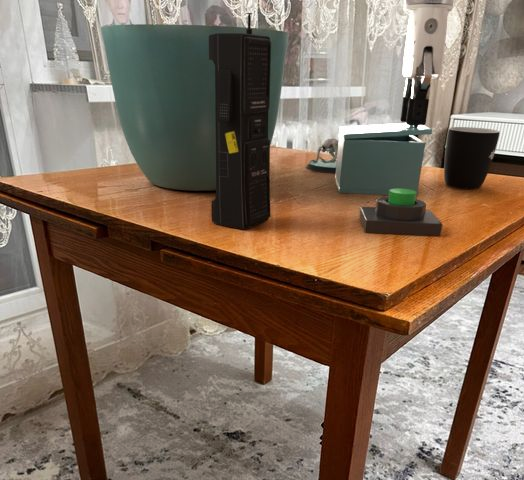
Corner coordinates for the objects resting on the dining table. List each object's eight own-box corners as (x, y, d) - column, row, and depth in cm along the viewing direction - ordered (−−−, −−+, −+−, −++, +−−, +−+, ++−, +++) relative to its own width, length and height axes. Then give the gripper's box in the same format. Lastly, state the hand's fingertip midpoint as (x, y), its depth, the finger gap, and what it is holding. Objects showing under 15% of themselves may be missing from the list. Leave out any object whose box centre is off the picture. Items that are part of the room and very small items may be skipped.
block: (427, 221, 79) (431, 196, 78) (440, 236, 72) (445, 210, 70) (359, 218, 80) (361, 193, 78) (365, 232, 72) (368, 206, 71)
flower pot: (78, 185, 93) (58, 22, 82) (179, 163, 117) (174, 34, 105) (229, 210, 81) (229, 23, 70) (306, 179, 105) (316, 36, 94)
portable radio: (244, 233, 70) (247, 7, 59) (206, 225, 73) (202, 7, 61) (272, 220, 77) (280, 13, 65) (236, 214, 79) (238, 13, 67)
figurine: (292, 166, 117) (293, 136, 114) (332, 162, 124) (335, 133, 121) (327, 175, 109) (329, 142, 107) (368, 170, 116) (372, 139, 113)
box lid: (418, 127, 100) (420, 97, 97) (431, 134, 89) (434, 101, 87) (339, 131, 101) (339, 102, 99) (344, 139, 91) (344, 106, 88)
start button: (411, 201, 76) (413, 189, 75) (416, 207, 73) (419, 194, 72) (386, 200, 76) (387, 187, 75) (389, 206, 73) (391, 193, 72)
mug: (489, 192, 99) (503, 133, 94) (439, 188, 101) (449, 130, 96) (483, 181, 109) (494, 127, 105) (437, 177, 111) (446, 124, 106)
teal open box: (405, 183, 104) (412, 134, 100) (416, 196, 94) (425, 142, 90) (334, 180, 105) (339, 131, 101) (338, 192, 95) (343, 139, 91)
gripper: (467, -7, 78) (445, 128, 86) (440, 5, 93) (424, 119, 102) (415, -8, 78) (398, 127, 87) (396, 5, 93) (383, 118, 102)
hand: (412, 122), depth 94 cm, fingers closed on box lid, 5 cm apart
